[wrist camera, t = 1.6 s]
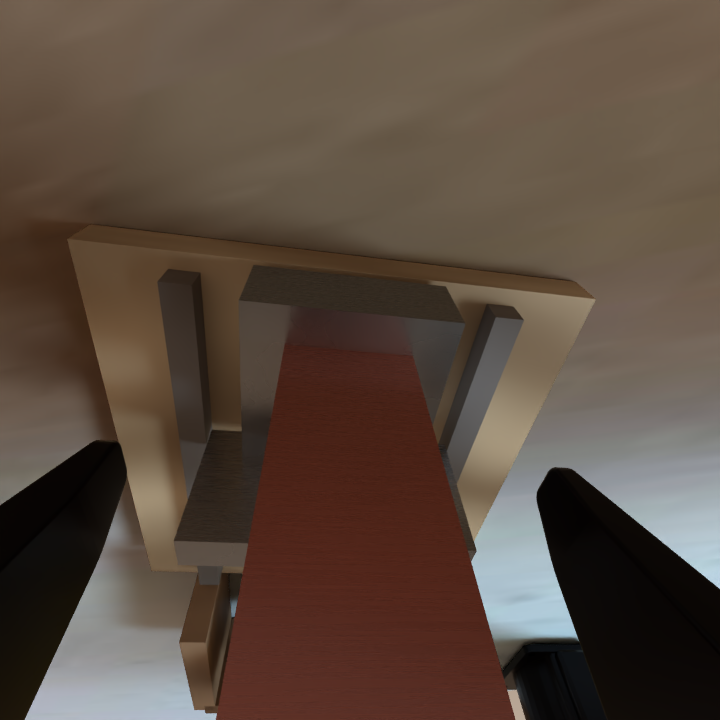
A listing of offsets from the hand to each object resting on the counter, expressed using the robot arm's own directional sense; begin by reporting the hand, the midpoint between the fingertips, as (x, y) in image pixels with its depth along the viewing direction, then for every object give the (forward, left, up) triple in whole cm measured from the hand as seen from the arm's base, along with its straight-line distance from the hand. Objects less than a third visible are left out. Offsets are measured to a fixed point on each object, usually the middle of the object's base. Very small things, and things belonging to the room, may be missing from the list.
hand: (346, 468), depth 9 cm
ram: (0, 0, -4) cm, 4 cm away
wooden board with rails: (-5, 0, -6) cm, 7 cm away
